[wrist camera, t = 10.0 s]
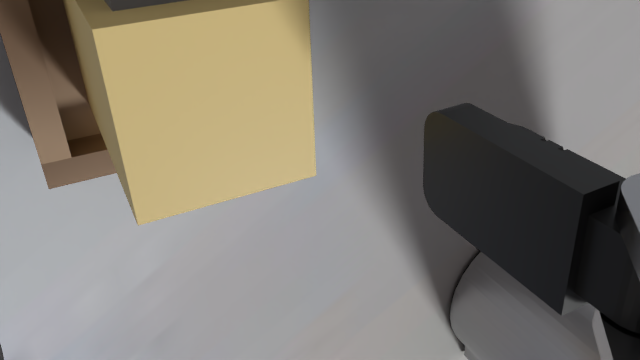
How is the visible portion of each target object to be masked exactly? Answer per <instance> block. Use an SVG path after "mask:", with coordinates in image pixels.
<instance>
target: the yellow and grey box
mask: <svg viewBox="0 0 640 360" xmlns="http://www.w3.org/2000/svg"><path fill="white" fill-rule="evenodd" d="M63 3H64V7H65V11H66V15H67V19H68V23H69V26H70V30H71V34H72V38H73V42H74V46H75V50H76V54H77V58H78V62H79V66H80V70H81V74H82V78H83V82H84V86H85V89H86V93H87V97H88V101H89V105H90V107H91V110H92V112H93V115H94V117H95V120H96V122H97V125H98V127H99V130H100V132H101V135H102V137H103V140H104V142H105V145H106V147H107V150H108V152H109V155H110V157H111V160H112V162H113V164H114V167H115V169H116V172H117V174H118V177H119V179H120V182H121V184H122V187H123V189H124V192H125V194H126V197H127V199H128V202H129V204H130V207H131V209H132V212H133V214H134V217H135V219H136V222H137V224H138V225H141V224H145V223H149V222H152V221H156V220H159V219H163V218H166V217H170V216H174V215H177V214H181V213H184V212H188V211H191V210H195V209H199V208H202V207H206V206H209V205H213V204H216V203H220V202H224V201H227V200H231V199H234V198H238V197H241V196H245V195H249V194H252V193H256V192H259V191H263V190H266V189H270V188H274V187H277V186H281V185H284V184H288V183H291V182H295V181H299V180H302V179H306V178H309V177H313V176H316V160H315V137H314V113H313V90H312V66H311V43H310V19H309V0H63Z"/></svg>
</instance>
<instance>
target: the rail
mask: <svg viewBox="0 0 640 360" xmlns="http://www.w3.org/2000/svg"><path fill="white" fill-rule="evenodd" d="M0 34H1V37H2V40H3V43H4V46H5V50H6V53H7V56H8V59H9V62H10V66H11V69H12V72H13V75H14V79H15V82H16V85H17V88H18V91H19V95H20V98H21V101H22V104H23V107H24V111H25V114H26V117H27V120H28V124H29V127H30V130H31V133H32V136H33V140H34V143H35V146H36V149H37V152H38V156H39V159H40V162H41V165H42V169H43V172H44V175H45V178H46V181H47V185H48V188H49V189H51V188H56V187H60V186H64V185H68V184H72V183H76V182H81V181H85V180H89V179H93V178H97V177H101V176H106V175H110V174H114V173H117V172H116V169H115V167H114V164H113V162H112V160H111V157H110V155H109V152H108V150H107V147H106V145H105V142H104V140H103V137H102V135H101V132H100V130H99V127H98V125H97V122H96V120H95V117H94V115H93V112H92V110H91V107H90V105H89V101H88V97H87V93H86V89H85V86H84V82H83V78H82V74H81V70H80V66H79V62H78V58H77V54H76V50H75V46H74V42H73V38H72V34H71V30H70V26H69V23H68V19H67V15H66V11H65V7H64V3H63V0H0Z"/></svg>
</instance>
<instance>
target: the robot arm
mask: <svg viewBox="0 0 640 360" xmlns="http://www.w3.org/2000/svg"><path fill="white" fill-rule="evenodd" d="M423 188H424V194H425V197H426V200H427V203H428V205H429V206H430V208H431V210H432V211H433V212H434V214H435V215H436V216H438V217H439V218H440V219H441V220H443V221H444V222H445V223H446V224H448V225H449V226H450V227H451V228H453V229H454V230H455V231H456V232H457V233H459V234H460V235H461V236H462V237H464V238H465V239H466V240H467V241H469V242H470V243H471V244H472V245H474V246H475V247H476V248H477V249H479V250H480V251H481V252H480V253H479V254H478V255H477V256H476V258H475V259H474V260H473V261H472V262H471V264H470V265H469V267H468V268H467V270H466V271H465V273H464V274H463V276H462V278H461V280H460V282H459V284H458V286H457V288H456V290H455V293H454V296H453V300H452V303H451V311H450V321H451V327H452V329H453V331H454V333H455V335H456V337H457V338H458V339H459V340H460V341H461V342H462V343H463V344H464V345H465V352H464V355H465V356H466V358H467V359H468V360H640V174H636V175H633V176H630V177H629V178H627V179H625V178H623V177H621V176H619V175H617V174H615V173H613V172H611V171H609V170H607V169H605V168H603V167H601V166H600V165H598V164H596V163H594V162H592V161H590V160H588V159H586V158H584V157H582V156H580V155H578V154H576V153H574V152H572V151H570V150H568V149H567V150H563V147H562V146H560V145H558V144H556V143H554V142H552V141H550V140H548V141H546V140H545V138H544V137H542V136H540V135H538V134H536V133H534V132H532V131H530V130H528V129H526V128H524V127H521V126H517V125H514V124H510V123H507V122H505V121H503V120H501V119H499V118H497V117H495V116H493V115H491V114H489V113H487V112H485V111H483V110H482V109H480V108H478V107H476V106H474V105H472V104H469V103H464V104H460V105H457V106H453V107H450V108H446V109H443V110H439V111H436V112H432V113H430V114H429V115H428V117H427V119H426V121H425V127H424V172H423ZM0 360H4V357H3V352H2V348H1V345H0Z"/></svg>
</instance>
